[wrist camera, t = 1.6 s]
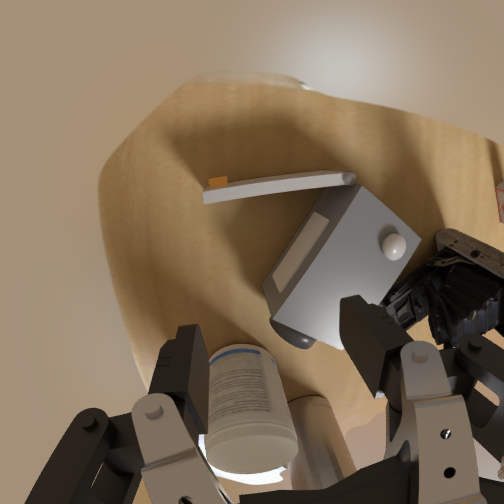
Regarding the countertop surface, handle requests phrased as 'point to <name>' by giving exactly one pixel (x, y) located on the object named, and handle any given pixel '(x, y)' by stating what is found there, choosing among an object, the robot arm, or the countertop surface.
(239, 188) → the side door
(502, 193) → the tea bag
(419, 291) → the vintage camera
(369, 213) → the camera housing
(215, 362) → the supplement tub
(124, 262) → the countertop surface
